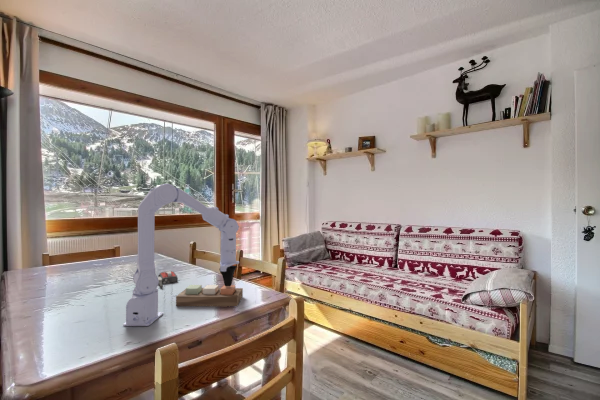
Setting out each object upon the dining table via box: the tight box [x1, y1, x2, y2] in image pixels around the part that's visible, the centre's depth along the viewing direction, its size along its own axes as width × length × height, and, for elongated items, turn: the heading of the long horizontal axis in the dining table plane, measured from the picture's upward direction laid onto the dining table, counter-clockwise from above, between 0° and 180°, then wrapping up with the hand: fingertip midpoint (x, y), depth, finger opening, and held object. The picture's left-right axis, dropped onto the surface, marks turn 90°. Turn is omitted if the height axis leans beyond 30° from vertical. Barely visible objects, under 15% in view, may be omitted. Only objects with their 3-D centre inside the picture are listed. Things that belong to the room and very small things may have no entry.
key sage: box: [185, 284, 203, 294], centre depth 108 cm, size 4×4×2 cm
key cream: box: [202, 284, 219, 295], centre depth 108 cm, size 4×4×2 cm
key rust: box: [220, 284, 236, 295], centre depth 108 cm, size 4×4×2 cm
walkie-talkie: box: [157, 270, 179, 288], centre depth 132 cm, size 9×4×20 cm
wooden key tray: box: [175, 287, 244, 308], centre depth 108 cm, size 10×22×4 cm, turn 90°
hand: (228, 285), depth 108 cm, fingers closed
